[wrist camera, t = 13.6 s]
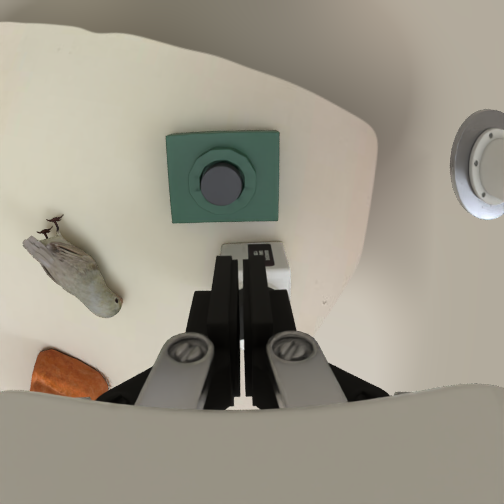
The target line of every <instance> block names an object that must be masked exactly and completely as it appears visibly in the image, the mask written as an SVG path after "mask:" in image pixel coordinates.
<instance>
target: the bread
mask: <svg viewBox="0 0 504 504" xmlns="http://www.w3.org/2000/svg"><path fill="white" fill-rule="evenodd" d="M30 391H33V392H42V393H48V394H54V395H60V396H67V397H73V398H76V397H90V398H91V399H92V400H96V399H97V398H98V397H99V396H100V395H102V394H103V393H105V392H107V391H108V385H107V383H106V382H105V380H104V378H103V377H102V375H101V374H100V373H99V372H98V371H96V370H94V369H93V368H91V367H89V366H88V365H86V364H84V363H83V362H81V361H79V360H77V359H75V358H72V357H70V356H67V355H65V354H63V353H61V352H59V351H56V350H53V349H50V350H46V351H40V353H39V355H38V357H37V360H36V363H35V366H34V370H33V374H32V380H31V388H30Z"/></svg>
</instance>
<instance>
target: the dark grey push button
mask: <svg viewBox="0 0 504 504" xmlns="http://www.w3.org/2000/svg"><path fill="white" fill-rule="evenodd" d="M200 187H201V192H202V194H203V196H204V198H205V199H206V200H207V201H208V202H210V203H211V204H214V205H218V206H225V205H229V204H231V203H233V202H234V201H235V200H236V199H237V198H238V197H239V195H240V193H241V189H242V179H241V175H240V173H239V171H238V170H237V169H236V168H235V167H234V166H232V165H230V164H227V163H217V164H214V165H212V166H211V167H209V168H208V169H207V170H206V172H205V174H204V175H203V177H202V180H201V186H200Z"/></svg>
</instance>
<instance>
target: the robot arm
mask: <svg viewBox="0 0 504 504" xmlns="http://www.w3.org/2000/svg"><path fill="white" fill-rule="evenodd" d="M469 177H470V182H471V186H472V188H473V190H474V192H475V194H476V195H477V197H478V198H479V199H480V200H482V201H483V202H485V203H487V204H490V205H498V204H501V203H503V202H504V130H503V129H499V128H491V129H487V130H486V131H484V132H483V133H482V134H481V135H480V136H479V137H478V138H477V140H476V142H475V144H474V146H473V148H472V151H471V155H470V160H469ZM243 327H244V361H245V391H246V397H248V396H252V401H253V406H257V407H258V408H259V410H225V409H227V408H228V407H229V406H234V397H240V308H239V278H238V259H233V260H232V256H217V257H216V263H215V270H214V276H213V283H212V290H211V291H195V292H194V296H193V300H192V305H191V309H190V314H189V318H188V323H187V328H186V332H185V333H181V334H178V335H175V336H173V337H171V338H170V339H169V340H167V341H166V343H165V344H164V345H163V347H162V349H161V351H160V353H159V355H158V357H157V359H156V361H155V363H154V365H153V367H151V368H149V369H147V370H145V371H144V372H142V373H140V374H138V375H136V376H135V377H133V378H131V379H129V380H127V381H125V382H123V383H122V384H120V385H118V386H116V387H114V388H112V389H110V390H109V391H107V392H105V393H103V394H102V395H100V396H99V397H98V398H97V399H96V400H92V399H91V398H90V397H76V398H73V397H67V396H60V395H54V394H48V393H42V392H33V391H24V390H8V391H0V504H504V388H502V387H499V386H494V385H489V384H477V383H475V384H458V385H451V386H443V387H438V388H433V389H428V390H422V391H416V392H395V394H394V396H389V394H388V393H387V392H385V391H384V390H382V389H381V388H379V387H376V386H374V385H372V384H370V383H368V382H366V381H364V380H362V379H360V378H358V377H356V376H354V375H352V374H350V373H347V372H346V371H344V370H342V369H340V368H338V367H336V366H334V365H332V364H330V363H328V362H327V360H326V358H325V356H324V354H323V352H322V350H321V348H320V346H319V345H318V343H317V341H316V340H315V339H314V338H313V337H311V336H310V335H309V334H306V333H303V332H300V331H296V327H295V322H294V318H293V313H292V309H291V305H290V300H289V296H288V292H287V290H286V289H280V290H269V289H268V282H267V275H266V268H265V261H264V255H249V259H243Z"/></svg>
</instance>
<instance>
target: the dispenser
mask: <svg viewBox="0 0 504 504" xmlns="http://www.w3.org/2000/svg"><path fill="white" fill-rule="evenodd" d="M166 150H167V165H168V179H169V192H170V203H171V214H172V223H202V222H245V221H278V202H279V132H278V131H276V130H236V131H207V132H189V133H175V134H170V135H167V136H166ZM217 163H227V164H230V165H232V166H234V167H235V168H236V169H237V170H238V171H239V173H240V175H241V179H242V189H241V193H240V195H239V197H238V198H237V199H236V200H235V201H234V202H233V203H231V204H229V205H225V206H218V205H214V204H211V203H210V202H208V201H207V200H206V199H205V198H204V196H203V194H202V192H201V187H200V186H201V180H202V177H203V175H204V174H205V172H206V170H207V169H208V168H209V167H211V166H212V165H214V164H217Z"/></svg>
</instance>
